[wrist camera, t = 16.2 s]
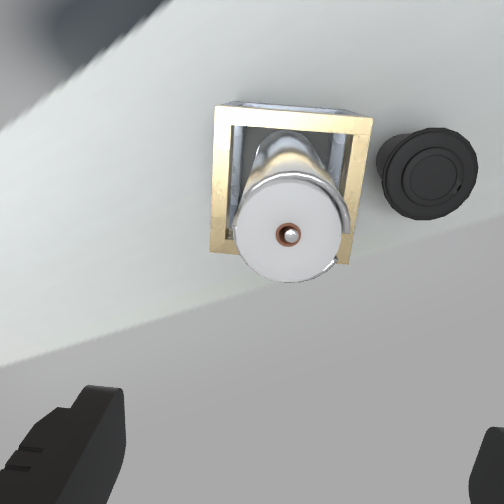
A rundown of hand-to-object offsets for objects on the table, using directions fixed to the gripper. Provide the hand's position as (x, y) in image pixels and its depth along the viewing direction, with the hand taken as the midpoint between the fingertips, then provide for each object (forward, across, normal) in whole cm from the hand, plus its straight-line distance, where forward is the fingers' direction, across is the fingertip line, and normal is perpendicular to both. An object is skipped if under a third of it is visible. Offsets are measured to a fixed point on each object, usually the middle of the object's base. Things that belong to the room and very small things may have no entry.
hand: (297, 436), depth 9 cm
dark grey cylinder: (+39, -13, -1) cm, 41 cm away
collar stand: (+38, 0, 0) cm, 39 cm away
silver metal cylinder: (+39, 0, 0) cm, 39 cm away
